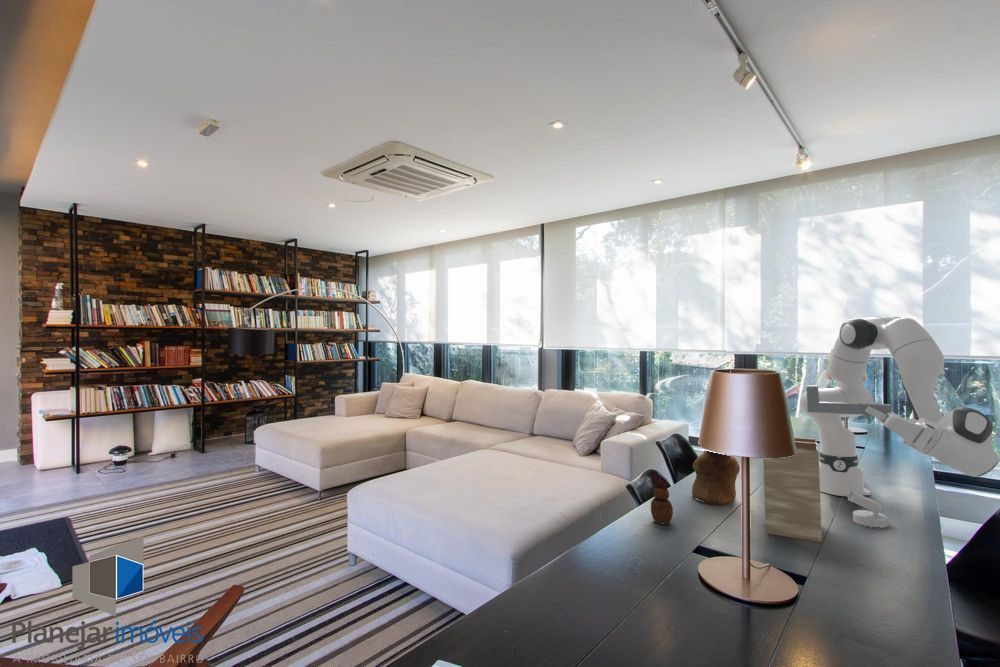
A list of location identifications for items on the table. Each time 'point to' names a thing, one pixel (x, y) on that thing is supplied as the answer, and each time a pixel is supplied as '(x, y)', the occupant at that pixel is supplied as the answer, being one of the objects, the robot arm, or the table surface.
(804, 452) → the stand
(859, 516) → the wall hook
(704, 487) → the ceramic vessel
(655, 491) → the wooden figurine
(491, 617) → the table surface
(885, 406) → the bracket
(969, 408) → the robot arm
